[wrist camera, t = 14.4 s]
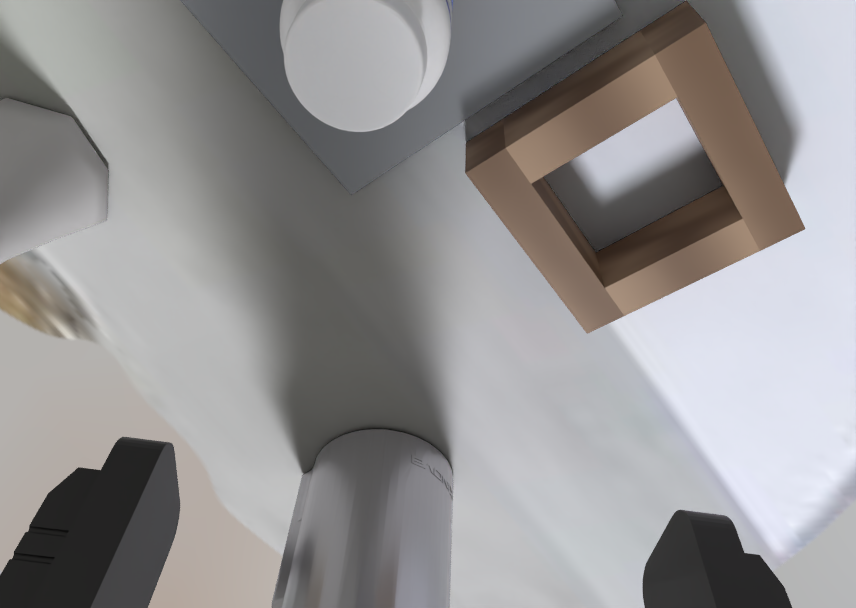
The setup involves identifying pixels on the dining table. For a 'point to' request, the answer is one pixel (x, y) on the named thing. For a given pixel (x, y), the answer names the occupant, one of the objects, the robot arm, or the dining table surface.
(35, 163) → the flask
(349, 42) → the pill bottle
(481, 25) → the slate mat
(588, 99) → the walnut socket
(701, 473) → the dining table surface
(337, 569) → the robot arm
